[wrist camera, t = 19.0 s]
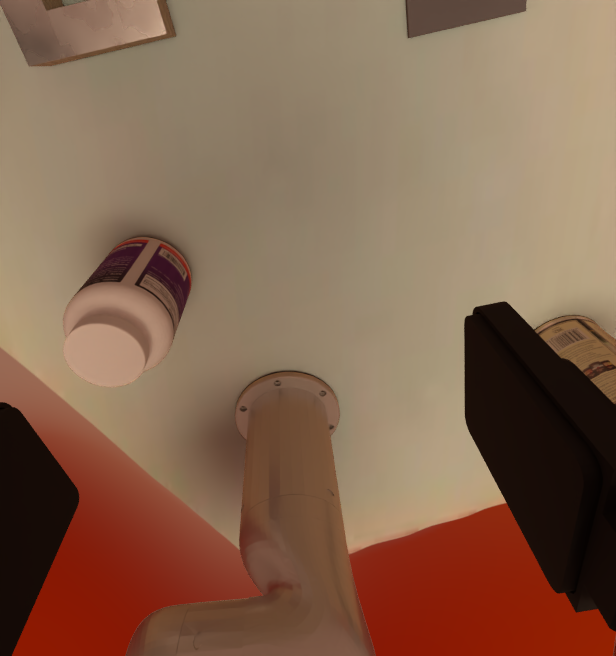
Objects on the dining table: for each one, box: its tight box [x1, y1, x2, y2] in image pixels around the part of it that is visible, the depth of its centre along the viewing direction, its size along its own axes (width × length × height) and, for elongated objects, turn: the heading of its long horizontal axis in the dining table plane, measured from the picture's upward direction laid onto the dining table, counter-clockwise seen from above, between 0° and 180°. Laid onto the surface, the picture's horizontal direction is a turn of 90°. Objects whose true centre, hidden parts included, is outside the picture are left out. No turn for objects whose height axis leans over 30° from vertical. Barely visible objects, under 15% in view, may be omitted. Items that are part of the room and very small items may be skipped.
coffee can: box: [535, 316, 616, 405], centre depth 45 cm, size 10×10×14 cm
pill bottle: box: [63, 237, 191, 387], centre depth 37 cm, size 8×8×14 cm
